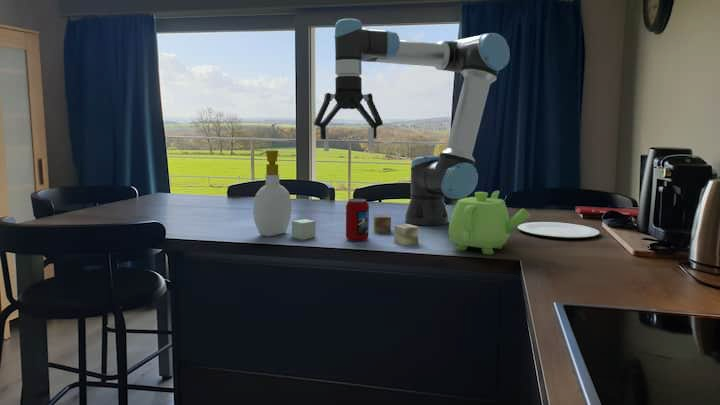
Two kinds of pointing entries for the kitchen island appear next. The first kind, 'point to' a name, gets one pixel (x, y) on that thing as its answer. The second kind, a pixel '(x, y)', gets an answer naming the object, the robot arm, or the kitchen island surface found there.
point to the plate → (558, 230)
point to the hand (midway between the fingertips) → (348, 150)
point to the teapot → (483, 222)
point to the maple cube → (406, 234)
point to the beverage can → (357, 219)
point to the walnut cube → (382, 223)
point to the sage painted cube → (303, 229)
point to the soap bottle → (272, 201)
